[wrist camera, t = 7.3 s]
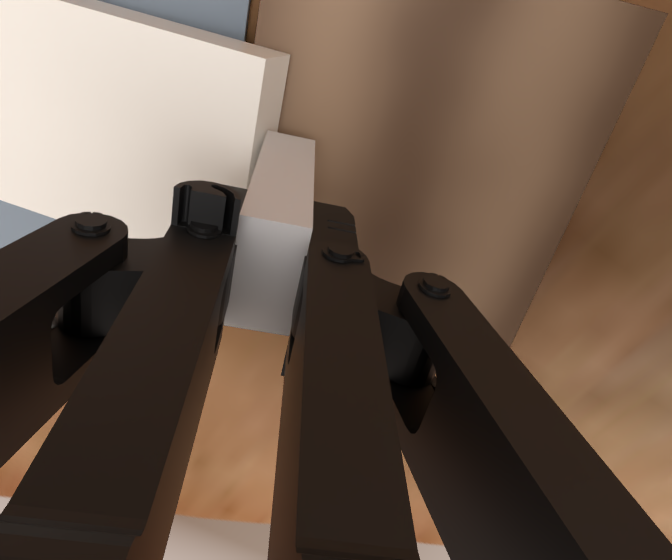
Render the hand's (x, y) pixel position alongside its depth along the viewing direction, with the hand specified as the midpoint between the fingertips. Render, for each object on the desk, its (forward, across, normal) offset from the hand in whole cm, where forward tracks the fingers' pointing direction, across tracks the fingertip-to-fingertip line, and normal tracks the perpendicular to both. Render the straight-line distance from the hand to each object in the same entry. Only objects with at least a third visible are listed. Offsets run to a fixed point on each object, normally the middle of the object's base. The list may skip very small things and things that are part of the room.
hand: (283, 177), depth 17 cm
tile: (+3, +5, 0) cm, 6 cm away
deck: (+4, -4, 0) cm, 6 cm away
